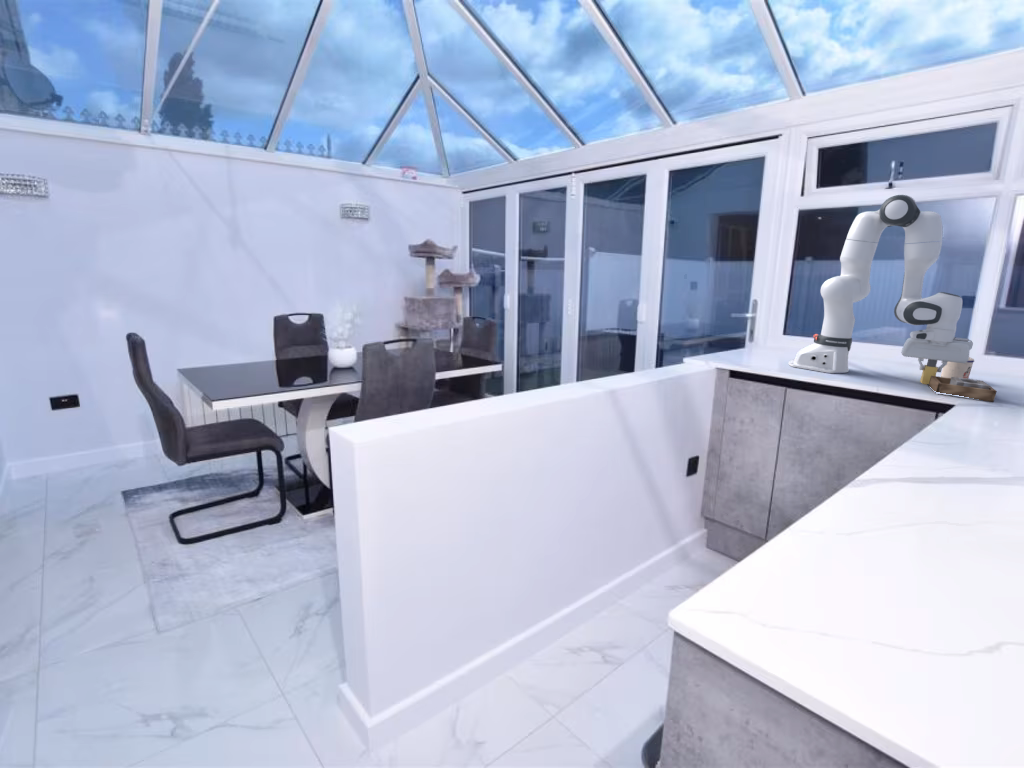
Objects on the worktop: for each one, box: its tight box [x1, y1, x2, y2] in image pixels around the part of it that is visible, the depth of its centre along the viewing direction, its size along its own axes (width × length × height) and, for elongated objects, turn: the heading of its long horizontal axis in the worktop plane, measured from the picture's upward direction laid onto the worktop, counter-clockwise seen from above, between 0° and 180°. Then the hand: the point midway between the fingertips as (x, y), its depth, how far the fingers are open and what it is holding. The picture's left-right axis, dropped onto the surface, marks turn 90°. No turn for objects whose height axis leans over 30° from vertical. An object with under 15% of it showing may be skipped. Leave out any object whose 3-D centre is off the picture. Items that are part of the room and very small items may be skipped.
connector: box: [919, 359, 939, 385], centre depth 199 cm, size 4×4×10 cm
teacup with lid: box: [940, 356, 975, 379], centre depth 210 cm, size 12×9×12 cm
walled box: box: [928, 375, 998, 403], centre depth 187 cm, size 16×14×5 cm
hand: (929, 370), depth 199 cm, fingers closed on connector, 4 cm apart
